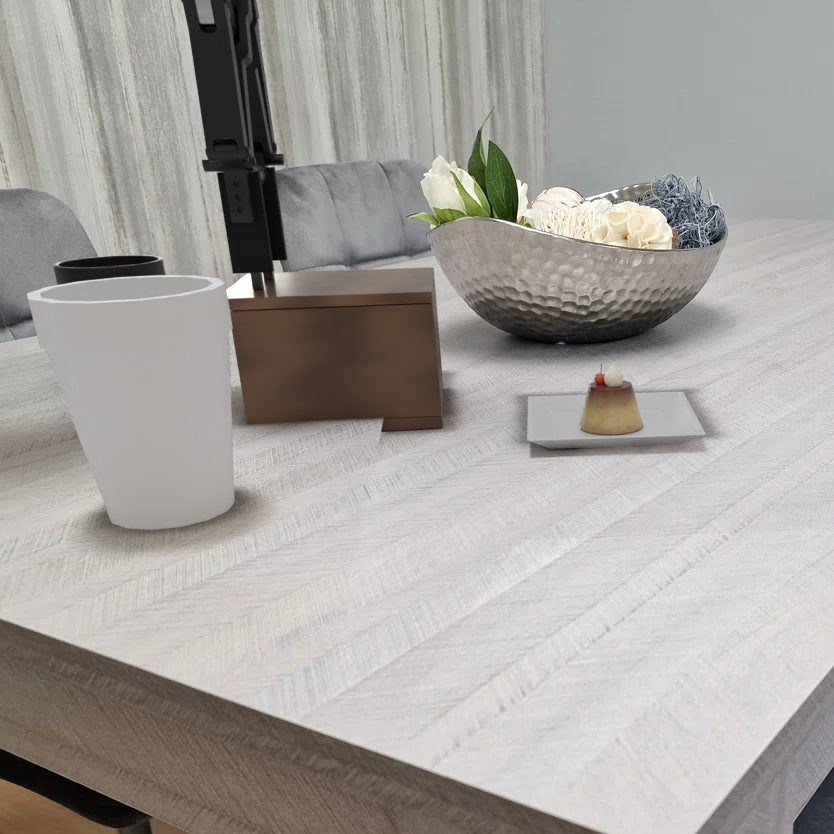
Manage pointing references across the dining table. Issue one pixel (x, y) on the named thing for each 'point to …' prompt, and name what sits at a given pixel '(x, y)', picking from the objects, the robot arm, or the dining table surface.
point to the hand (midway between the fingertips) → (261, 265)
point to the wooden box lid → (330, 286)
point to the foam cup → (146, 391)
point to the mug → (108, 268)
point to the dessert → (611, 417)
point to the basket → (341, 364)
